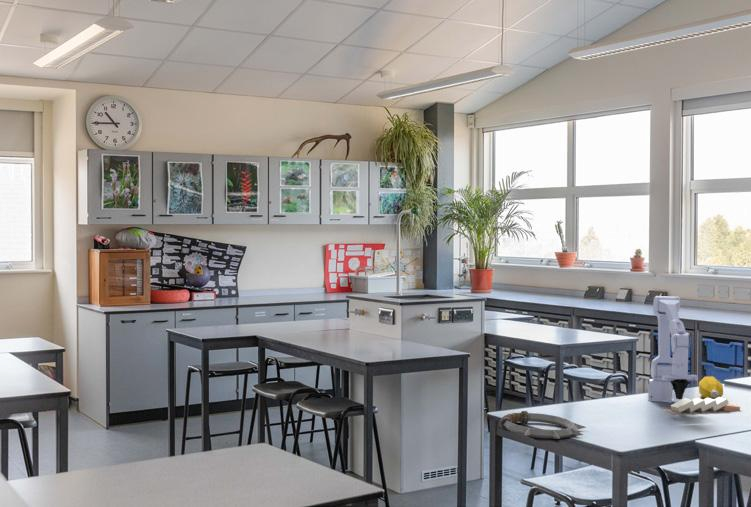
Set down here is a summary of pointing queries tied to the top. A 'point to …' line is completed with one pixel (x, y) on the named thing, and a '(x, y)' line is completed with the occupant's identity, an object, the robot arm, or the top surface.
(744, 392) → the top surface
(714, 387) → the yellow elongated lump
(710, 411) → the domino board
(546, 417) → the spiked ring
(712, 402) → the domino
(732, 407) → the domino
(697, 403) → the domino
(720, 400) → the domino
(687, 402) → the domino
